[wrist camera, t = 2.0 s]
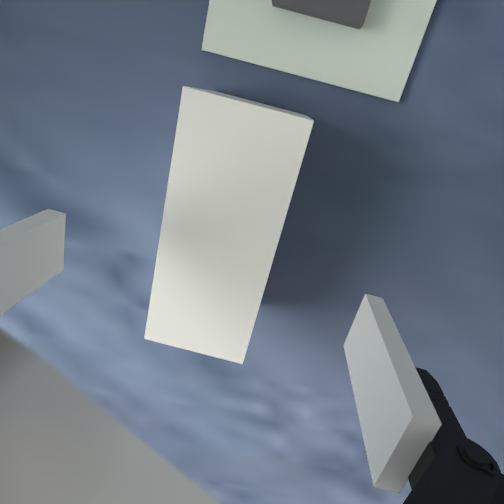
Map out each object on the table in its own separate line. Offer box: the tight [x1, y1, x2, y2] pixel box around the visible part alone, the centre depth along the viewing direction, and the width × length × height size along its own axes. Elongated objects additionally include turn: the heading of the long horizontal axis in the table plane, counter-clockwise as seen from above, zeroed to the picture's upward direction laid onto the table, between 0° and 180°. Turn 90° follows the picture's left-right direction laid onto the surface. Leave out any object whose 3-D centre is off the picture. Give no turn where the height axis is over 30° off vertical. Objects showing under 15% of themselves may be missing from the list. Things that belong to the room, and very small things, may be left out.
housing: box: [144, 86, 314, 364], centre depth 22 cm, size 14×6×7 cm, turn 167°
